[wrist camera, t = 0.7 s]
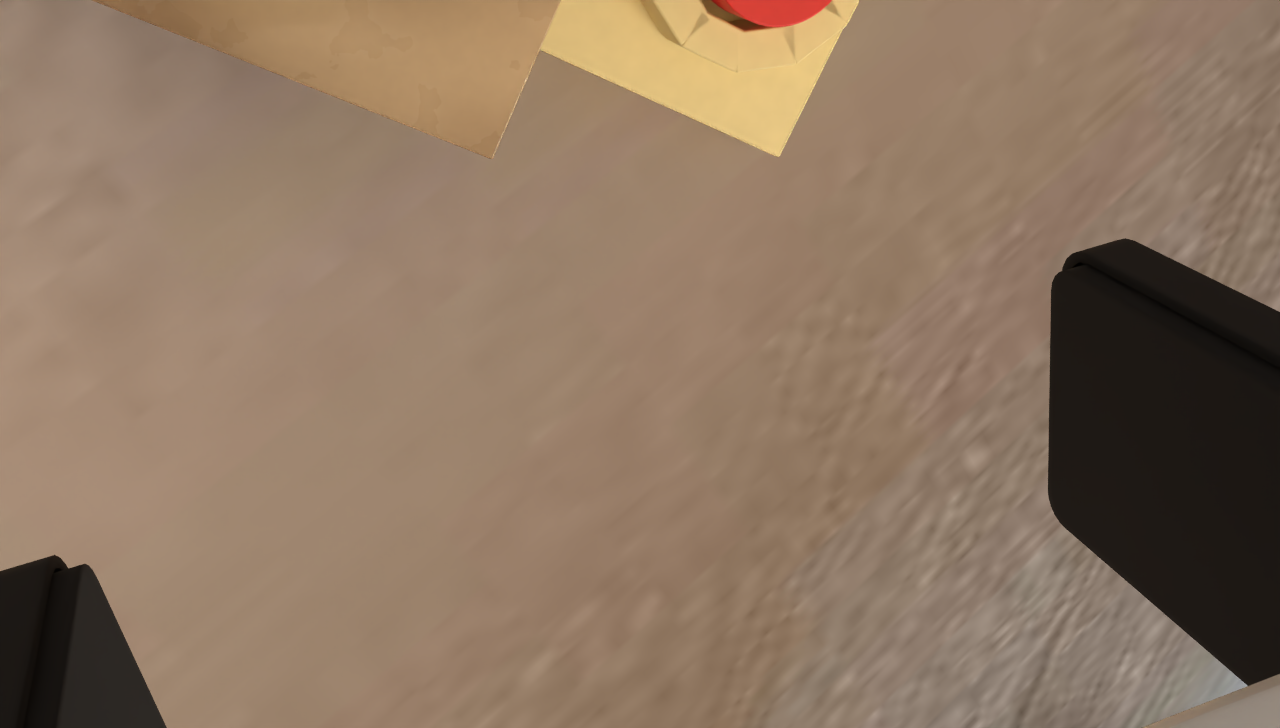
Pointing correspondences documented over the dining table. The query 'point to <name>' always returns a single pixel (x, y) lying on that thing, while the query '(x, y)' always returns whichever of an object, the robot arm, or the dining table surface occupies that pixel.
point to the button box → (702, 59)
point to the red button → (773, 10)
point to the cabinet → (381, 53)
